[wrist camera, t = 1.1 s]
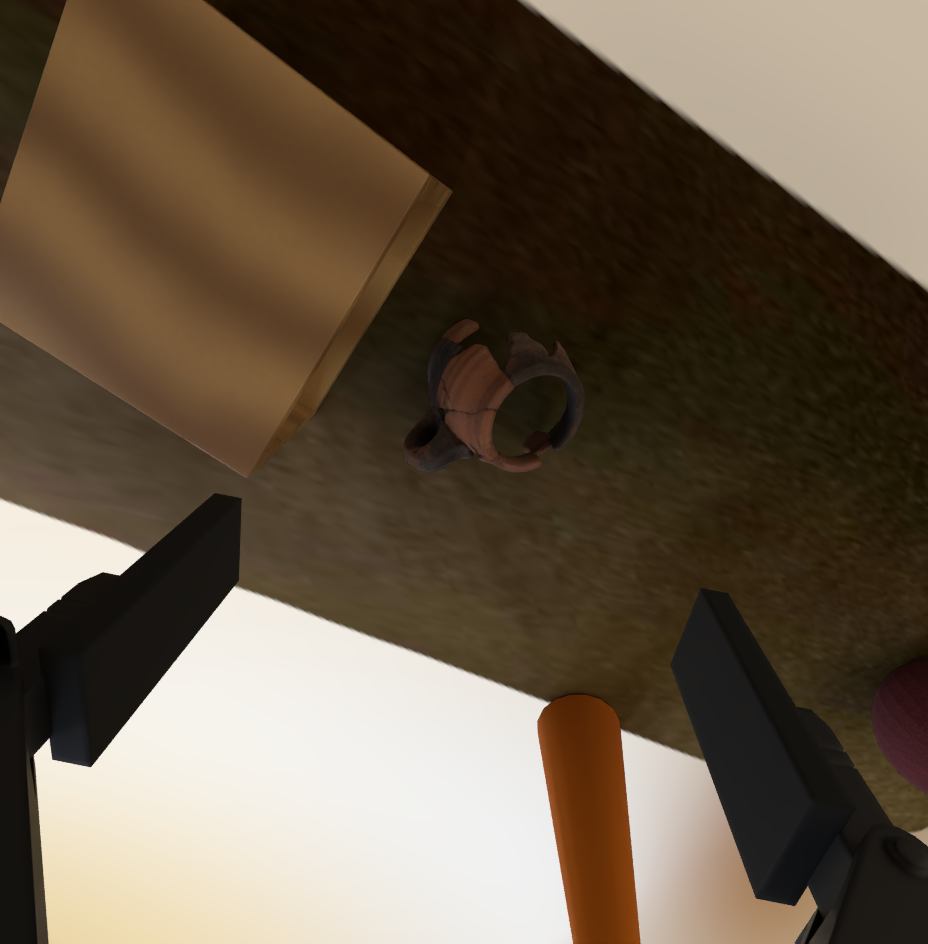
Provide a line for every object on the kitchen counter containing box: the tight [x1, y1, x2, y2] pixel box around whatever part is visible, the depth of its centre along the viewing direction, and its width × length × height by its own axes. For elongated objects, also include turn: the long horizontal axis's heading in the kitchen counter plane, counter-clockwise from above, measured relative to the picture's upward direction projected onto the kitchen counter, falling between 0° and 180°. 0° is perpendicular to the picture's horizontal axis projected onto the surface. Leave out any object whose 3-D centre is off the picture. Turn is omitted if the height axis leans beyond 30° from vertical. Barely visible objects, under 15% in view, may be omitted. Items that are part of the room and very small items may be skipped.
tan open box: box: [0, 0, 452, 478], centre depth 32 cm, size 18×16×11 cm
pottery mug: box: [404, 319, 585, 472], centre depth 38 cm, size 12×10×8 cm
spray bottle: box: [537, 695, 640, 944], centre depth 39 cm, size 7×11×26 cm, turn 83°
